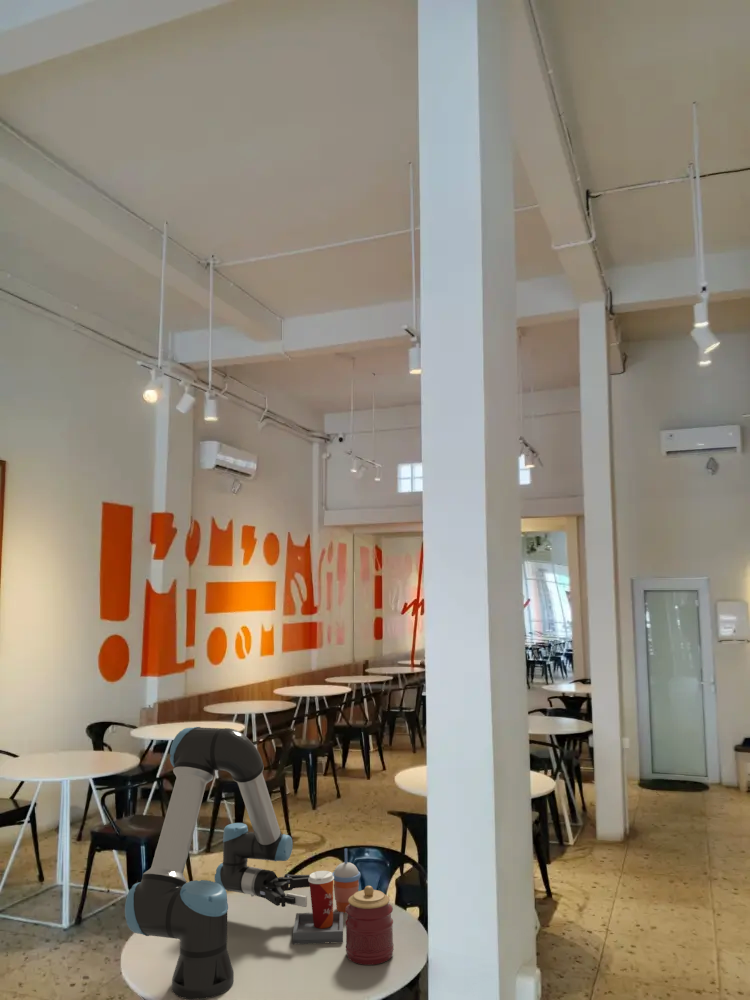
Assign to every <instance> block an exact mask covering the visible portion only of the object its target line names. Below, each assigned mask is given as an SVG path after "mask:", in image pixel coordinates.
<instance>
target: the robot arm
mask: <svg viewBox="0 0 750 1000" xmlns="http://www.w3.org/2000/svg"><path fill="white" fill-rule="evenodd" d="M169 754H170V756H169V761H170V764H171V766H172V767H173V769H172V771H173V774H174V775H175V777H176V779H175V782H174V785H173V789H172V793H171V796H170V799H169V802H168V806H167V809H166V815H165V817H164V821H163V825H162V827H161V832H160V834H159V835H160V836H159V839H158V843H157V846H156V850H155V852H154V857H153V859H152V863H151V865H150V866H151V867H150V868H149V869H148V870H146V871H145V872H143V874H142V877H141V881H140V882H136V883H134V884H133V885H132V886H131V888H130V889H129V890H128V893H127V896H126V899H125V903H124V904H125V905H124V916H125V920H126V925H127V927H128V929H129V930H130V931H131V932H133V933H134V934H139V935H142V936H146V937H151V936H153V937H158V938H159V937H160V938H167V939H168V938H170V939H176V940H179V956H178V959H177V962H176V965H175V968H174V970H173V975H172V979H171V991H172V990H173V991H172V993H173V992H174V993H175V994H174V995H175V996H177V995H178V997H179V998H181V999H187V1000H202V999H209V998H213V997H217V996H219V995H221V994H224V993H225V992H228V991H229V989H230V988H231V987H232V986H233V985H234V981H235V980H234V977H235V976H234V975H235V974H234V968H233V965H232V962H231V958H230V955H229V953H228V952H229V951H228V910H229V904H228V893H227V892H234V893H241V894H245V895H250V896H251V897H254V896H256V897H258V898H263V899H266V900H267V901H268V902H270V903H272V904H273V905H274V906H277V907H279V906H280V905H281V907H283V908H284V907H286V904H287V905H291V906H292V905H293V906H297V907H302V908H307V907H308V903H307V902H308V898H307V897H308V896H307V895H302V894H296V893H292V892H288V891H293V889H302V888H310V883H309V881H308V879H309V876H310V874H288V873H285V874H284V876H278V875H277V874H276V872H275V871H274V870H271V869H270V870H269V869H263V868H259V867H253V866H249V865H248V859H251V860H260V861H262V860H263V861H272V862H286V861H288V860H289V859H290V857H291V855H292V852H293V847H294V846H293V844H294V843H293V838H292V836H291V835H289V834H285V833H283V834H282V831H281V829H280V826H279V822H278V819H277V816H276V812H275V809H274V807H273V806H274V805H273V803H272V799H271V796H270V794H269V790H268V787H267V783H266V780H265V778H264V774H263V773H264V772H263V771H264V768H265V767H264V762H263V759H262V756H261V754H260V752H259V750H258V749H257V748H256V746H255V744H254V743H253V742H252V741H251V740H250V739H249V737H247V736H246V735H245V734H244V733H242V732H240V731H239V730H237V729H233V728H231V727H230V728H228V727H226V728H225V727H223V728H222V727H201V726H194V727H185V728H184V729H182V730H180V731H179V732H178V733H177V734H176V736H175V737H174V738H173V740H172V743H171V745H170V750H169ZM216 771H220V772H221V771H224V772H227V773H229V774H230V776H231V778H232V780H233V781H234V782H236V783H237V786H238V788H239V791H240V795H241V797H242V799H243V802H244V806H245V809H246V812H247V816H248V817H249V820H250V823H251V826H252V829H253V831H249V829H248V827H249V826H248V825H247V824H246V823H243V822H234V823H230V824H227V825H226V826H225V827H224V828H223V838H222V858H223V859H222V862H221V863H220V864H219V865H218V866H217V867H216V870H215V873H214V881H212V880H206V879H200V880H191V881H187V879H186V878H185V876H184V871H185V868H186V864H187V859H188V857H189V853H190V852H189V851H190V848H191V844H192V840H193V837H194V832H195V828H196V825H197V821H198V817H199V813H200V809H201V806H202V802H203V797H204V793H205V791H206V786H207V784H208V783H210V782H211V781H213V779H214V777H215V773H216ZM286 891H287V893H285V892H286Z"/></svg>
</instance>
